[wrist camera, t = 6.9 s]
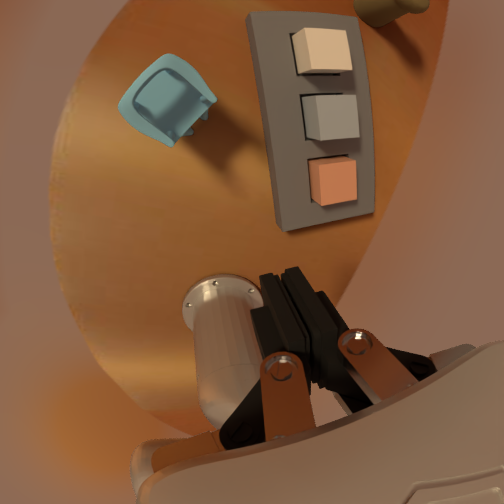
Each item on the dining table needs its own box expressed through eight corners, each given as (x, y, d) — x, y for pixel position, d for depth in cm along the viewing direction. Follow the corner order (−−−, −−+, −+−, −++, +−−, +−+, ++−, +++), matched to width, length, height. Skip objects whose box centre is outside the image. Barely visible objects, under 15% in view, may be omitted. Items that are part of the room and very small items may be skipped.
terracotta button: (342, 190, 36) (356, 199, 33) (308, 196, 36) (321, 205, 32) (340, 154, 34) (355, 160, 30) (305, 159, 33) (318, 165, 30)
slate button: (342, 133, 31) (359, 137, 28) (306, 137, 31) (320, 140, 27) (338, 95, 29) (355, 94, 25) (301, 97, 28) (315, 95, 25)
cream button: (335, 73, 27) (352, 70, 24) (298, 73, 27) (311, 69, 23) (329, 37, 25) (345, 30, 22) (291, 36, 24) (304, 27, 21)
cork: (392, 14, 25) (441, 2, 16) (376, 34, 27) (428, 22, 18) (364, -12, 23) (409, -33, 13) (346, 6, 25) (393, -16, 15)
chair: (177, 150, 31) (170, 168, 21) (128, 109, 27) (96, 107, 17) (222, 104, 30) (238, 98, 19) (173, 61, 26) (163, 34, 15)
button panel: (363, 205, 40) (374, 212, 37) (276, 223, 38) (282, 231, 36) (346, 22, 26) (357, 17, 23) (245, 19, 25) (249, 12, 22)
